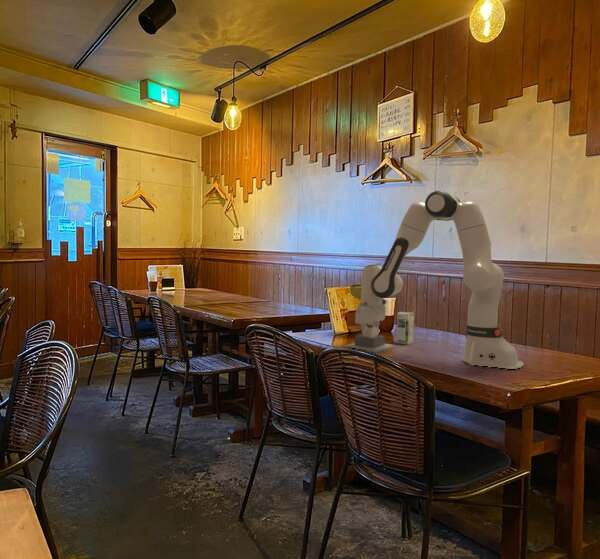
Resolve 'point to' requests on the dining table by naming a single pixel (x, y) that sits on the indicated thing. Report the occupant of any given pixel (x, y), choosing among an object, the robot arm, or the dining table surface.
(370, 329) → the plug
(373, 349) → the socket
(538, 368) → the dining table surface
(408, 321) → the syrup box
